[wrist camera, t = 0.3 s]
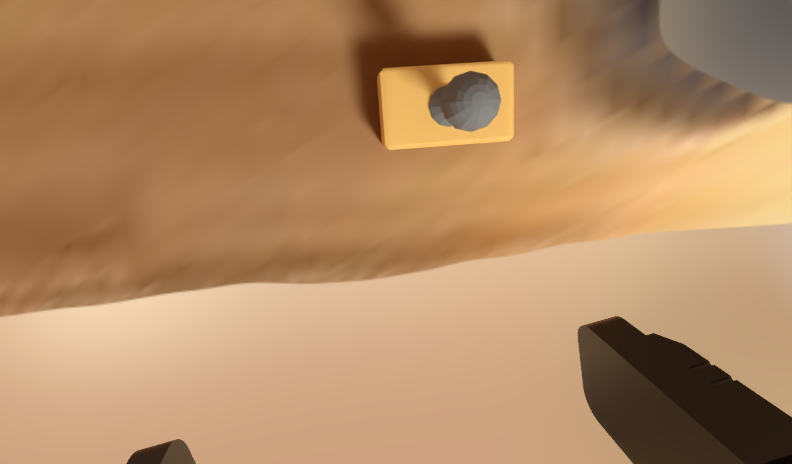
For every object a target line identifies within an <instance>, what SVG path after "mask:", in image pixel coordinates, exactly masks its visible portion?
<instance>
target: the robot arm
mask: <svg viewBox="0 0 792 464" xmlns="http://www.w3.org/2000/svg"><path fill="white" fill-rule="evenodd" d="M578 343H579V352H580V361H581V370H582V379H583V388H584V393H585V396H586V400H587V402H588V405H589V407H590V409H591V411H592V413H593V415H594V416H595V417H596V419H597V421H598V422H599V423H600V424H601V425H602V427H603V428H604V429H605V430H606V431H607V433H608V434H609V435H610V436H611V437H612V439H613V440H614V441H615V442H616V443H617V445H618V446H619V447H620V448H621V449H622V451H623V452H624V453H625V454H626V455H627V457H628V458H629V459H630V460H631V461H632V462H633V464H792V417H790V416H789V415H787V414H786V413H785V412H783V411H782V410H780V409H779V408H777V407H776V406H774V405H773V404H771V403H770V402H768V401H767V400H765V399H764V398H762V397H761V396H759V395H758V394H756V393H755V392H754V391H752V390H751V389H749V388H747V387H746V386H745V385H743V384H742V383H740V382H739V381H737V380H736V381H733V380H732V378H731V376H730V375H728V374H727V373H725V372H724V371H723V370H721V369H720V368H718V367H717V366H715V365H711V364H710V363H709V361H708V360H706V359H705V358H703V357H702V356H700V355H699V354H697V353H696V352H695V351H693V350H692V349H690V348H689V347H687V346H686V345H684V344H682V343H679V342H676V341H673V340H670V339H668V338H665V337H662V336H660V335H657V334H654V333H653V334H650V335H645V334H643V333H642V332H641V331H639V330H638V329H637V328H635V327H634V326H632V325H631V324H630V323H628V322H627V321H626V320H624V319H623V318H621V317H618V316H615V317H611V318H608V319H604V320H601V321H597V322H594V323H591V324H587V325H584V326H581V327H580V328H579V330H578ZM127 464H196V463H195V461H194V459H193V457H192V455H191V453H190V451H189V449H188V447H187V445H186V444H185V443H184V442H183V441H182V440H180V439H177V440H173V441H170V442H167V443H163V444H159V445H156V446H153V447H149V448H145V449H142V450H138V451H136V452H135V453H134V454H133V455H132V456H131V457H130V459H129V460H128V462H127Z"/></svg>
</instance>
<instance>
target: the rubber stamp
mask: <svg viewBox="0 0 792 464" xmlns="http://www.w3.org/2000/svg"><path fill="white" fill-rule="evenodd" d="M377 88H378V101H379V114H380V128H381V141H382V144H383V145H384V146H385V147H386V148H387V149H389V150H394V149H407V148H420V147H434V146H447V145H460V144H473V143H486V142H499V141H509V140H510V139H511V138H512V137H513V136H514V64H512V63H511V62H510V61H508V60H505V61H489V62H473V63H457V64H441V65H425V66H409V67H393V68H383V69H382V70H381V72H380V73H379V74H378V77H377Z"/></svg>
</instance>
